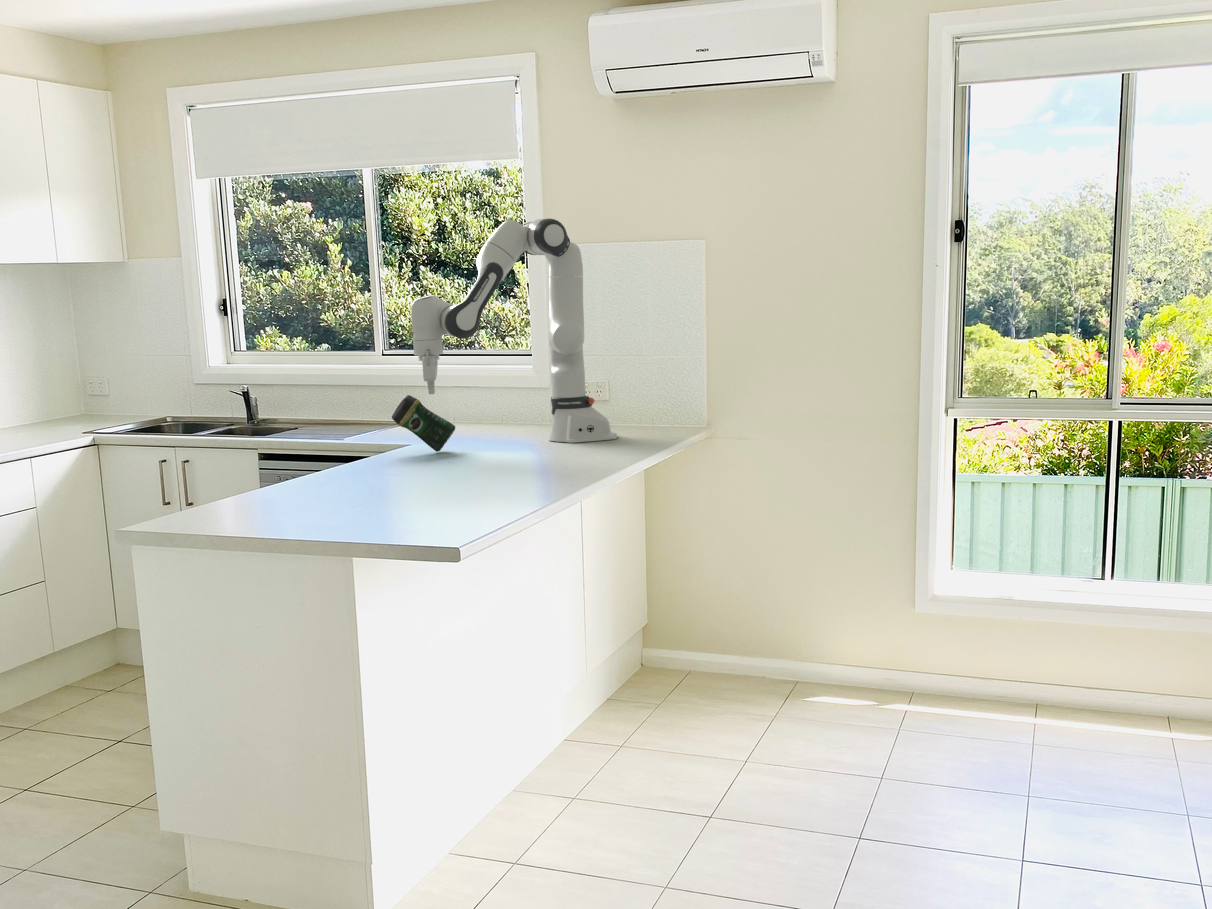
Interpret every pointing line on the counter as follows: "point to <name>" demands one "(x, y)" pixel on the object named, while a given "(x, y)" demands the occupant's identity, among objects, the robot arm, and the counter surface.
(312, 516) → the counter surface
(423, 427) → the coffee jar
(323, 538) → the counter surface
